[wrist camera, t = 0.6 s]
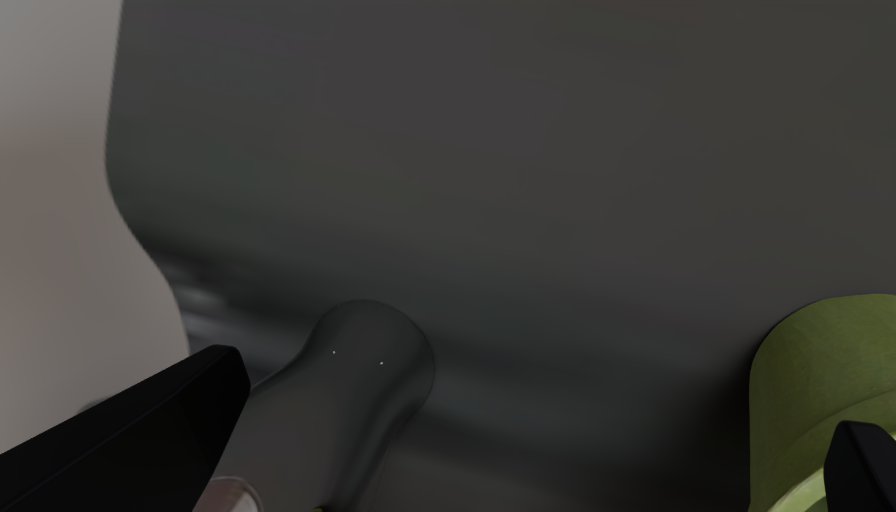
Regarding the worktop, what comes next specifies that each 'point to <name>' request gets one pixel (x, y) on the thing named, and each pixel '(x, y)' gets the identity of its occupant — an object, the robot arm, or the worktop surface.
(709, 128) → the worktop surface
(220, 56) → the worktop surface
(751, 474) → the plant pot
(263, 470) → the beer glass
